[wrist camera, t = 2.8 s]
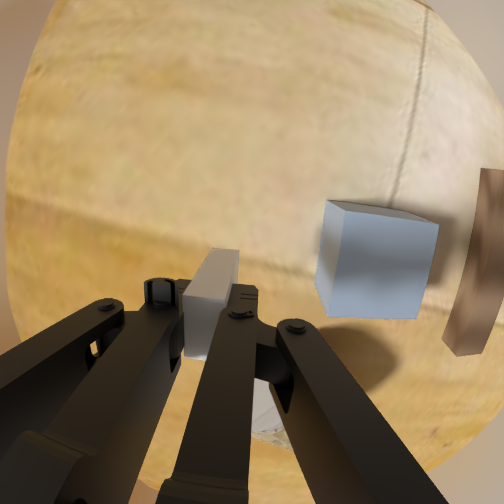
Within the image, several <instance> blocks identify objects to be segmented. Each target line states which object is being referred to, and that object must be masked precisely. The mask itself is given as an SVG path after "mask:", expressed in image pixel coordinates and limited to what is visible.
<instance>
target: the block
mask: <svg viewBox="0 0 504 504" xmlns="http://www.w3.org/2000/svg"><path fill="white" fill-rule="evenodd" d="M438 231H439V224H436V223H434V222H431V221H429V220H426V219H424V218H421V217H419V216H416V215H413V214H411V213H408V212H405V211H401V210H395V209H389V208H382V207H376V206H369V205H362V204H355V203H347V202H340V201H332V200H326V203H325V212H324V220H323V227H322V235H321V242H320V249H319V256H318V263H317V269H316V276H315V282H314V284H315V286H316V289H317V292H318V294H319V297H320V299H321V302H322V305H323V307H324V310H325V312H326V315H327V317H344V318H370V319H416V318H417V315H418V312H419V309H420V305H421V302H422V298H423V295H424V291H425V288H426V284H427V280H428V276H429V272H430V268H431V264H432V260H433V256H434V251H435V246H436V241H437V236H438Z"/></svg>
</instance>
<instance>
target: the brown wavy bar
mask: <svg viewBox="0 0 504 504" xmlns="http://www.w3.org/2000/svg"><path fill="white" fill-rule="evenodd" d="M503 297H504V170H495V169H485V168H481V173H480V183H479V192H478V200H477V207H476V214H475V220H474V225H473V231H472V236H471V241H470V246H469V250H468V255H467V259H466V263H465V267H464V271H463V275H462V278H461V282H460V286H459V289H458V292H457V296H456V299H455V302H454V305H453V308H452V311H451V314H450V317H449V320H448V323H447V326H446V328H445V331H444V334H443V336H442V340H443V341H444V343H445V344H446V345H447V346H448V347H449V348H450V350H451V351H452V352H453V353H454V354H455V355H456V357H458V356H466V355H474V354H481V353H482V352H483V349H484V347H485V345H486V343H487V340H488V338H489V335H490V333H491V331H492V328H493V325H494V323H495V320H496V318H497V315H498V312H499V309H500V306H501V304H502V301H503Z"/></svg>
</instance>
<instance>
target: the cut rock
mask: <svg viewBox="0 0 504 504" xmlns="http://www.w3.org/2000/svg"><path fill="white" fill-rule="evenodd" d="M251 436H252V437H254V438H255V439H257V440H259V441H261V442H266V443H269V444H271V445H274V446H278V447H282V448H285V449H288V450H292V451H293V448H292V446H291V443H290V441H289V438H288V436H287V433H286V431H285V428H284V426H283V423H282V421H281V418H280V416H279V413H278V411H277V408H276V405H275V403H274V400H273V398H272V395H271V392H270V390H269V382H266V381H263V380H260V379H256V378H254V395H253V412H252V429H251Z"/></svg>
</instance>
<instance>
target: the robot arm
mask: <svg viewBox="0 0 504 504" xmlns="http://www.w3.org/2000/svg"><path fill="white" fill-rule="evenodd" d="M239 251H240V250H231V249H220V248H212V250H211V251H210V253H209V254H208V256H207V257H206V259H205V261H204V262H203V264H202V265H201V267H200V268H199V270H198V271H197V273H196V274H195V276H194V278H193V279H192V280H186V279H178V280H176V281H175V280H173V279H169V278H153V279H149V280H147V281H145V282H144V294H145V303H144V305H143V306H142V307H141V308H140V309H139V311H124V305H123V303H122V302H121V301H119V300H116V299H112V298H109V299H108V298H104V299H101V300H98V301H95V302H93V303H91V304H89V305H88V306H86V307H84V308H82V309H80V310H79V311H77V312H75V313H73V314H71V315H70V316H68V317H66V318H64V319H62V320H61V321H59V322H57V323H55V324H54V325H52V326H50V327H48V328H47V329H45V330H43V331H41V332H40V333H38V334H36V335H34V336H33V337H31V338H29V339H28V340H26V341H24V342H22V343H21V344H19V345H17V346H16V347H14V348H12V349H11V350H9V351H7V352H6V353H4V354H2V355H1V356H0V504H128V502H129V499H130V496H131V494H132V491H133V488H134V486H135V483H136V480H137V477H138V475H139V472H140V469H141V467H142V464H143V461H144V458H145V456H146V453H147V451H148V448H149V445H150V443H151V440H152V437H153V435H154V432H155V429H156V427H157V424H158V422H159V419H160V417H161V414H162V411H163V409H164V406H165V404H166V401H167V399H168V396H169V393H170V391H171V388H172V386H173V383H174V381H175V378H176V376H177V373H178V371H179V368H180V366H181V352H182V349H183V347H184V358H190V359H198V360H205V361H206V362H205V365H204V368H203V372H202V375H201V378H200V382H199V385H198V388H197V392H196V395H195V398H194V402H193V405H192V409H191V412H190V415H189V419H188V422H187V426H186V429H185V432H184V436H183V439H182V443H181V446H180V450H179V453H178V457H177V460H176V464H175V467H174V471H173V473H172V476H171V477H170V478H168V479H165V481H164V482H163V483H162V485H161V488H160V491H159V493H158V497H157V500H156V503H155V504H248V499H249V491H248V476H249V461H250V445H251V429H252V412H253V395H254V378H256V379H260V380H263V381H266V382H269V390H270V392H271V395H272V398H273V400H274V403H275V405H276V408H277V411H278V413H279V416H280V418H281V421H282V423H283V426H284V428H285V431H286V433H287V436H288V438H289V441H290V443H291V446H292V448H293V451H294V453H295V455H296V458H297V460H298V463H299V465H300V468H301V470H302V472H303V475H304V477H305V480H306V482H307V484H308V487H309V489H310V491H311V494H312V496H313V498H314V501H315V503H316V504H449V503H448V502H447V501H446V499H445V498H444V497H443V495H442V494H441V493H440V491H439V490H438V489H437V487H436V486H435V485H434V483H433V482H432V481H431V479H430V478H429V477H428V475H427V474H426V473H425V471H424V470H423V469H422V467H421V466H420V465H419V463H418V462H417V461H416V459H415V458H414V457H413V455H412V454H411V453H410V451H409V450H408V449H407V447H406V446H405V445H404V443H403V442H402V441H401V439H400V438H399V437H398V436H397V434H396V433H395V432H394V430H393V429H392V428H391V426H390V425H389V424H388V422H387V421H386V420H385V418H384V417H383V416H382V414H381V413H380V412H379V410H378V409H377V408H376V407H375V405H374V404H373V403H372V401H371V400H370V399H369V397H368V396H367V395H366V393H365V392H364V391H363V389H362V388H361V387H360V385H359V384H358V383H357V382H356V380H355V379H354V378H353V376H352V375H351V374H350V372H349V371H348V370H347V368H346V367H345V366H344V364H343V363H342V362H341V361H340V359H339V358H338V357H337V355H336V354H335V353H334V351H333V350H332V349H331V347H330V346H329V345H328V344H327V342H326V341H325V340H324V338H323V337H322V336H321V334H320V333H319V332H318V330H317V329H316V328H315V327H314V326H313V325H312V324H311V323H309V322H307V321H305V320H302V319H301V320H300V319H297V318H296V319H285V320H282V321H280V322H279V323H278V325H277V327H273V326H270V325H267V324H265V323H263V322H261V321H260V320H259V319H258V315H257V308H258V289H257V288H256V287H255V286H254V285H244V284H237V279H238V265H239ZM94 341H96V346H97V351H98V352H97V353H96V354H94V355H93V354H92V352H91V347H90V344H91V343H93V342H94Z"/></svg>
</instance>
